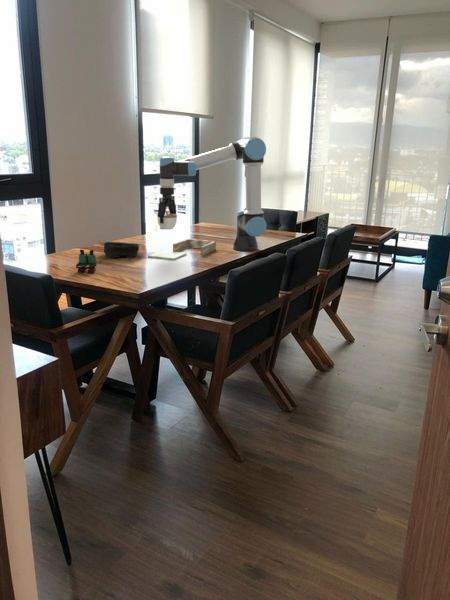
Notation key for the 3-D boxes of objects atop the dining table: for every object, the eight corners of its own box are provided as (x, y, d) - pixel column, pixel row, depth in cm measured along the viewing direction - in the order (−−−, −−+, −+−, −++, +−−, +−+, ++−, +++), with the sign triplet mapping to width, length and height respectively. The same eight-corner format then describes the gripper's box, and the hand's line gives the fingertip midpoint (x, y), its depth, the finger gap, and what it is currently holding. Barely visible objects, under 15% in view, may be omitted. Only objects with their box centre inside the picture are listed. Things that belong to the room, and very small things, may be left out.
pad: (186, 254, 281) (186, 253, 280) (174, 260, 266) (174, 258, 266) (161, 252, 286) (161, 250, 286) (147, 257, 271) (147, 255, 271)
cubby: (215, 249, 297) (215, 241, 296) (203, 255, 279) (203, 247, 278) (186, 246, 303) (186, 238, 302) (172, 252, 286) (172, 244, 284)
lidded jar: (173, 230, 266) (173, 213, 263) (154, 229, 268) (154, 212, 265) (179, 227, 276) (179, 210, 273) (161, 226, 278) (160, 209, 275)
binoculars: (73, 254, 229) (78, 248, 238) (75, 275, 233) (80, 268, 242) (92, 254, 229) (97, 248, 238) (94, 276, 233) (98, 269, 242)
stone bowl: (100, 261, 259) (99, 243, 257) (99, 254, 283) (98, 238, 281) (147, 258, 266) (146, 241, 263) (142, 252, 289) (141, 237, 287)
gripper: (170, 185, 277) (170, 224, 283) (150, 187, 256) (151, 230, 262) (182, 185, 274) (182, 225, 281) (163, 188, 253) (163, 231, 260)
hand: (167, 227), depth 271 cm, fingers closed on lidded jar, 11 cm apart
